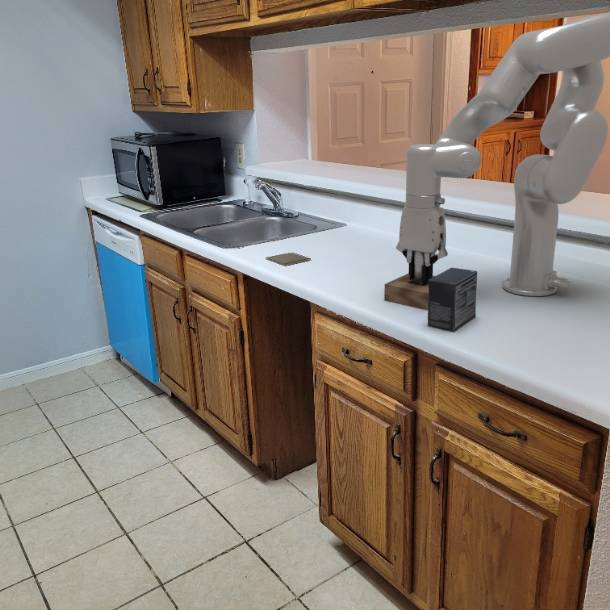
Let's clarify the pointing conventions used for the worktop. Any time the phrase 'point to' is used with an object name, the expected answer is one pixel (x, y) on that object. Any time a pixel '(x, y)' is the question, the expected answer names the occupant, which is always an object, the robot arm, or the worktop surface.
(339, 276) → the worktop surface
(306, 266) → the worktop surface
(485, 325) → the worktop surface
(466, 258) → the worktop surface
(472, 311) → the small box
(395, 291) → the socket block
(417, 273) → the pin
